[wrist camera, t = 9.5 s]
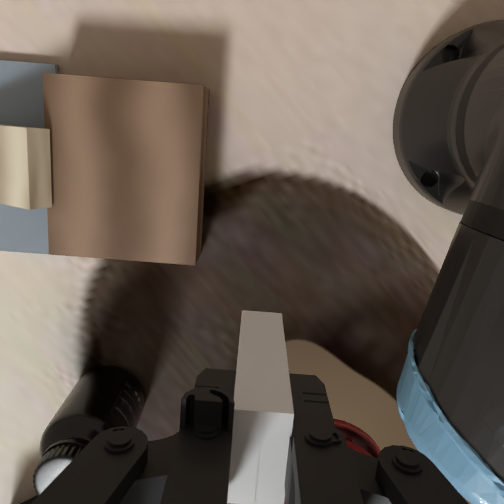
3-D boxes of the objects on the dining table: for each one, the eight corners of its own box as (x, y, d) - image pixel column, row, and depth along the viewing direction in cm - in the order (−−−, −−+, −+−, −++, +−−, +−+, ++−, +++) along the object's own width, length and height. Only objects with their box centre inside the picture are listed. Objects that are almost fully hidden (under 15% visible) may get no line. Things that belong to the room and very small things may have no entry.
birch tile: (49, 129, 36) (26, 127, 34) (52, 207, 37) (29, 209, 35) (-17, 122, 39) (-41, 121, 37) (-13, 194, 41) (-36, 196, 39)
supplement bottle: (91, 432, 47) (37, 530, 35) (67, 372, 45) (1, 455, 34) (156, 416, 46) (122, 510, 35) (133, 355, 45) (90, 433, 33)
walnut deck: (209, 90, 39) (203, 85, 35) (201, 253, 42) (195, 265, 38) (64, 78, 39) (42, 72, 35) (68, 243, 42) (48, 254, 38)
